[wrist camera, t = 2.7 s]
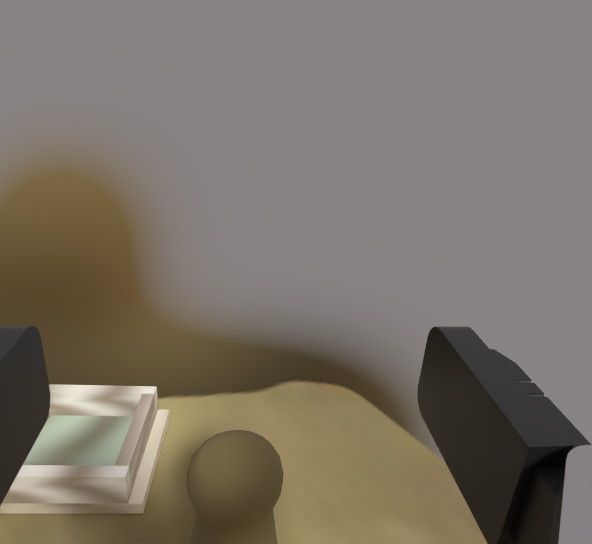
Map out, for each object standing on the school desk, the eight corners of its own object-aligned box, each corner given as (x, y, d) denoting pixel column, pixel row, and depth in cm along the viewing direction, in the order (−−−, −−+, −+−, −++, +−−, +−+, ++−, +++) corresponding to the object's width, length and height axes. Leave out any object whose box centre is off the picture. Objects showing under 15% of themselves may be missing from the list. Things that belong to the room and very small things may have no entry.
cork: (177, 556, 31) (171, 425, 27) (265, 532, 33) (272, 406, 29) (192, 656, 26) (187, 513, 22) (295, 619, 28) (309, 482, 24)
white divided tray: (169, 418, 43) (168, 386, 42) (143, 513, 34) (140, 477, 33) (-74, 414, 42) (-84, 381, 40) (-171, 513, 32) (-188, 475, 31)
